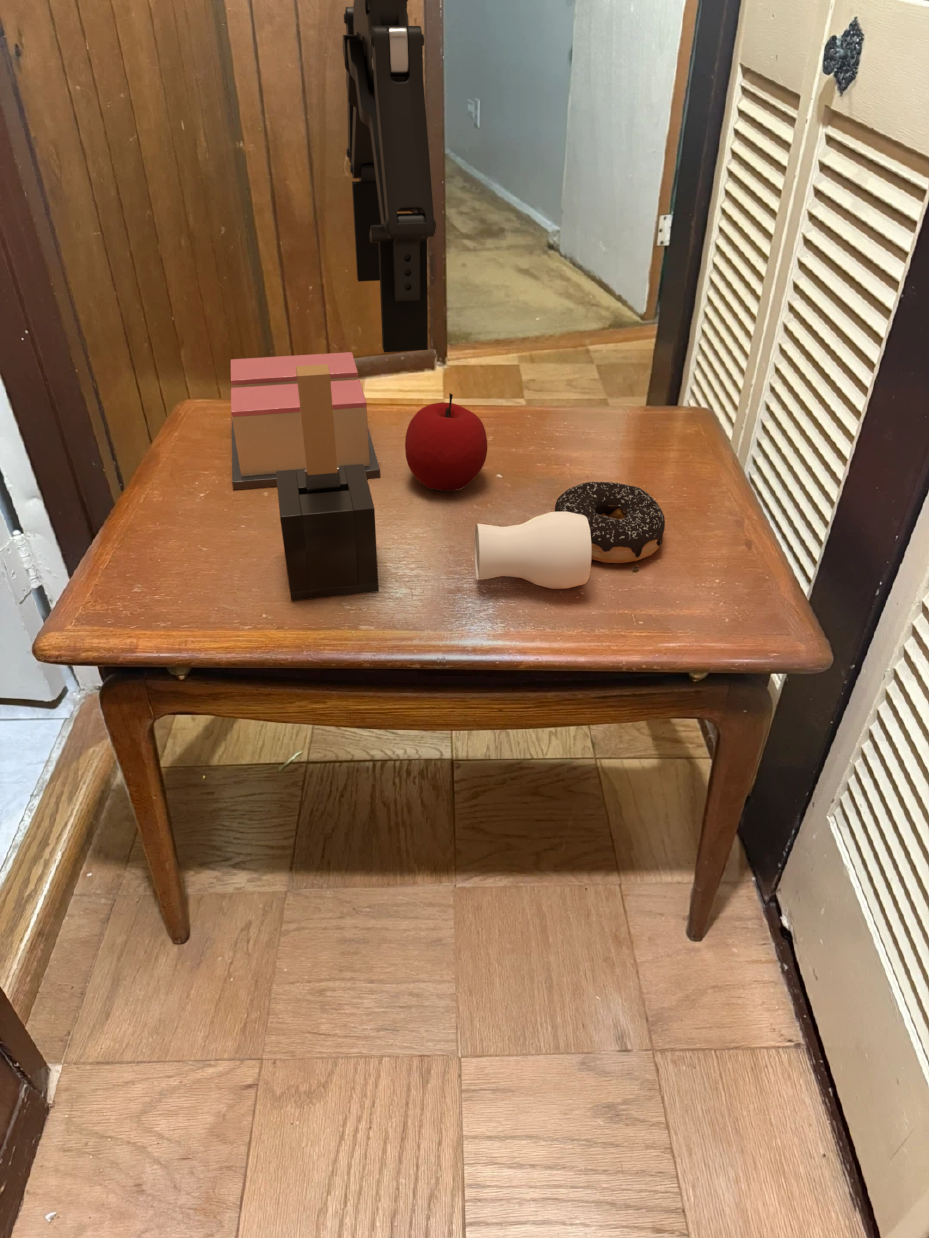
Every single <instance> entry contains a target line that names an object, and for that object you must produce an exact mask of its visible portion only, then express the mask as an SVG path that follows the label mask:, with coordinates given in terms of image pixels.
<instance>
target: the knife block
mask: <svg viewBox="0 0 929 1238" xmlns="http://www.w3.org/2000/svg"><path fill="white" fill-rule="evenodd" d="M337 467H339V471H340V484H341V491H337V492H326V493H314V494H307V490H306V480H305V471H304V470H305V469H296V470H284V471H276V478H277V486H276V487H277V488H276V489H277V500H278V510H279V519H280V528H281V535H282V543H283V549H284V558H285V565H286V574H287V580H288V581H287V582H288V588H289V597H290V602H298V601H306V600H307V601H308V600H314V599H316V600H317V599H325V598H334V597H335V598H336V597H343V596H352V595H353V596H354V595H360V594H361V595H362V594H368V593H369V594H370V593H379V591H380V590H379V589H380V588H379V570H378V569H379V568H378V549H377V548H378V547H377V530H376V513H375V512H376V511H375V504H374V501H373V498H372V497H373V496H372V493H371V489H370V484H369V480H368V478H367V477H366V473H365V469H364V465H363V464H355V465H344V466H337Z"/></svg>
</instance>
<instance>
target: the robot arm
mask: <svg viewBox="0 0 929 1238" xmlns="http://www.w3.org/2000/svg"><path fill="white" fill-rule="evenodd" d="M408 1H409V0H353V4H352V6H345V9H344V13H343V24H345V32H346V33H345V34H343V35H342V54H343V61H344V63H343V64H344V68H345V86H346V87H345V88H346V95H347V96H346V97H347V98H346V100H347V103H346V105H347V106H346V107H347V109H346V110H347V148H346V149H345V150H346V158H347V159H348V162H349V172H350V174H351V176H352V179H354V180H355V179H358V181H357V180H356V181H353V180H352V181H351V190H352V191H351V192H352V209H353V224H354V225H353V227H354V229H353V230H354V240H355V241H354V244H355V245H354V246H355V247H354V248H355V262H356V263H355V266H356V278H357V279H356V280H357V282H358V283H359V282H379V291H380V292H379V293H380V319H381V320H380V322H381V341H382V342H381V343H382V344H381V345H382V350H383V353H398V352H414V351H417V352H418V351H428V350H429V334H428V333H429V330H428V329H429V327H428V325H429V323H428V320H429V319H428V318H429V317H428V311H429V310H428V307H429V303H428V300H429V299H428V297H429V296H428V239H429V238H433V237H434V236H435V234H436V229H437V222H436V219H435V215H434V205H433V204H434V201H433V200H434V199H433V189H432V175H431V164H430V149H429V136H428V124H427V109H426V95H425V85H424V53H423V52H424V51H423V47H424V46H425V36H424V34H423V31H422V26H421V25H409V14H408ZM400 212H401V213H400ZM404 212H405V213H404Z"/></svg>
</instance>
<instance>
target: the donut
mask: <svg viewBox="0 0 929 1238" xmlns="http://www.w3.org/2000/svg"><path fill="white" fill-rule="evenodd" d="M553 512H571V513H576V514H580V515H584V516H585V517H586V518H587V520H588V523H589V527H590V534H591V560H594V561H596V562H597V561H598V562H602V563H606V564H607V563H610V564H611V563H612V564H623V563H624V564H625V563H632V562H637V561H640V560H642V559H646V558H647V557H650V556H652V555H653V554H654V553H655V552H656V551H657V550H658V549H659V548H660V547H661V545H662V544H663V540H664V539H663V538H664V532H665V528H666V521H665V514H664V513H663V512H664V511H663V510H662V508H661V506H660V505H659V504H658V502H657V500H655V498H654V497H653V496H651V495H650V494H649V493H648V492H647V491H646V490H643V488H641V487H638V486H634V485H630V484H629V485H628V484H623V483H618V482H613V481H612V482H610V481H587V482H582V483H579V484H575V486H572V487H570V488H567V489H566V490H565V491H563V492H562V493H561V494H560V495H559V497H557V499H556V502H555V505H554V511H553Z"/></svg>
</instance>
